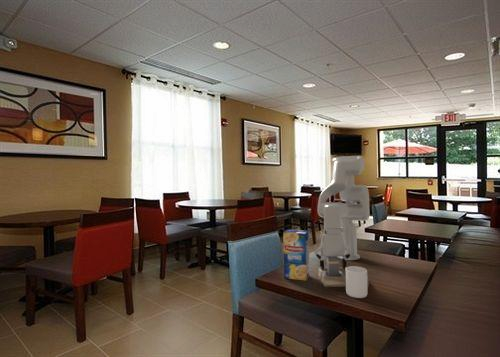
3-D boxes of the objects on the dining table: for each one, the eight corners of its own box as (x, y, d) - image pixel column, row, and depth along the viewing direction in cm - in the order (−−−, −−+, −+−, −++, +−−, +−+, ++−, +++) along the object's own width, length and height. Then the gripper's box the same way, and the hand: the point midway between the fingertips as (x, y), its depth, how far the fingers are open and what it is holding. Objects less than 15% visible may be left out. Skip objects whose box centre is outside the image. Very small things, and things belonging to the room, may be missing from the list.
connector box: (318, 275, 143) (318, 267, 143) (358, 275, 142) (357, 267, 142) (324, 287, 129) (324, 277, 129) (368, 286, 128) (368, 277, 128)
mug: (345, 286, 129) (345, 262, 129) (366, 288, 126) (365, 264, 126) (346, 297, 118) (345, 271, 117) (368, 299, 115) (367, 273, 115)
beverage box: (306, 280, 137) (305, 233, 136) (283, 277, 141) (283, 232, 141) (309, 275, 143) (308, 230, 143) (287, 273, 147) (287, 229, 147)
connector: (326, 277, 138) (326, 255, 138) (336, 277, 138) (336, 255, 138) (329, 280, 134) (328, 258, 134) (339, 280, 134) (339, 258, 133)
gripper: (349, 229, 139) (349, 265, 139) (312, 230, 139) (312, 266, 139) (354, 232, 131) (354, 270, 131) (315, 233, 132) (315, 271, 132)
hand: (333, 268), depth 135 cm, fingers open, 9 cm apart
